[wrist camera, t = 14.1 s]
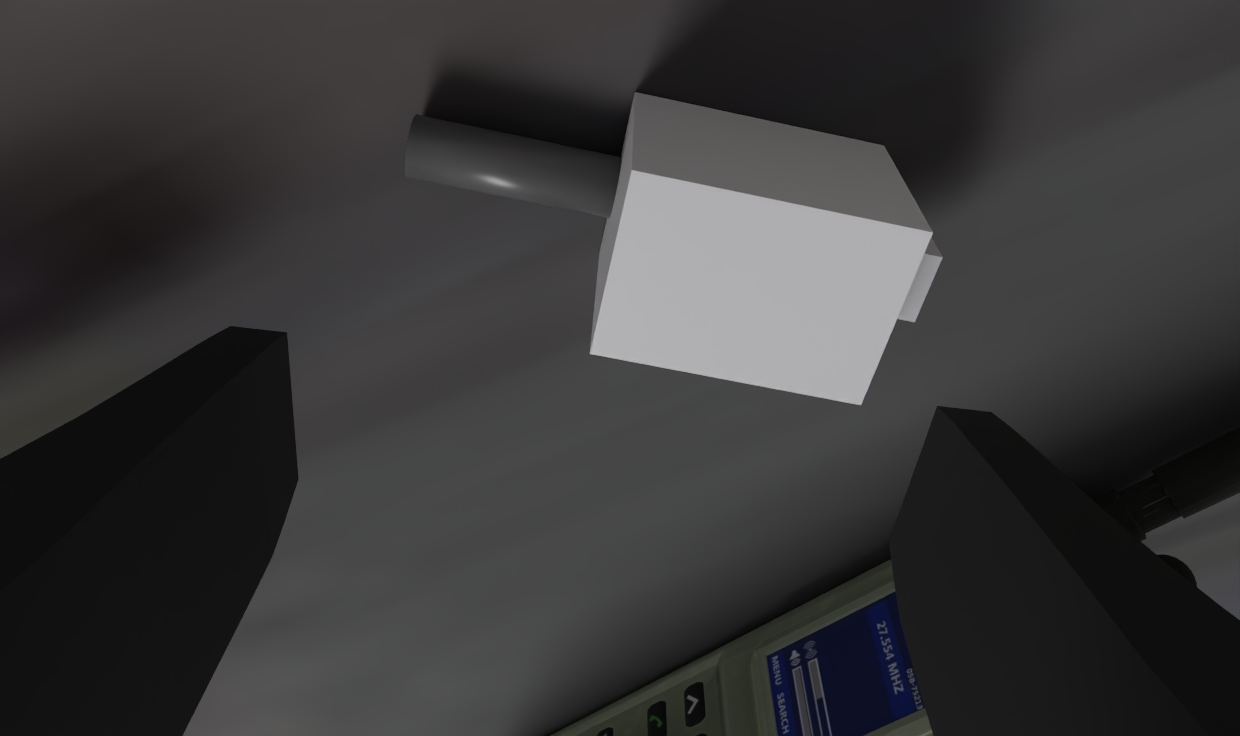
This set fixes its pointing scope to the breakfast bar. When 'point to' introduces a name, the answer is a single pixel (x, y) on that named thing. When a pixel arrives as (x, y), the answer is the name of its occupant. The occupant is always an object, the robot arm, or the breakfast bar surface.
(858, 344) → the plug
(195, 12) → the breakfast bar surface
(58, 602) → the robot arm
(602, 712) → the handheld radio
